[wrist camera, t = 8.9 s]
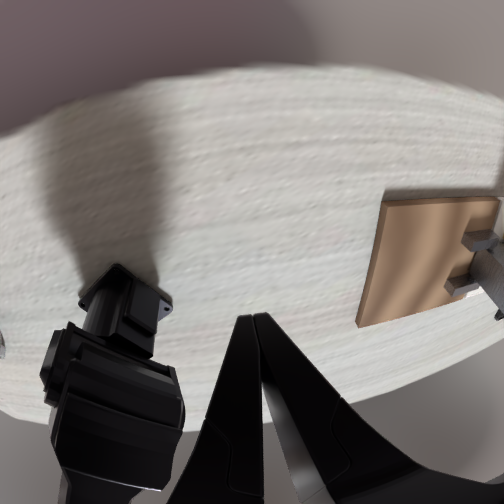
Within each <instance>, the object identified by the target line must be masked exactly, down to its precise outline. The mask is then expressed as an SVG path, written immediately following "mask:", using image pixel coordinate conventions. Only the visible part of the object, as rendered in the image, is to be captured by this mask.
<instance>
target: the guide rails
mask: <svg viewBox="0 0 504 504" xmlns="http://www.w3.org/2000/svg"><path fill="white" fill-rule="evenodd" d="M499 239H500V237H499V236H498V235H497V234H496V233H495V232H493V231H492V230H491V229H484V230H478V231H471V232H464V233H463V236H462V239H461V242H460V243H461V244H462V245H464V246H465V247H466V248H467V249H468V250H469V251H470V252H475V251H480V250H484V249H489V248H493V247H497V245H498V242H499ZM479 286H480V285H479V284H478V283H477V282H476V281H475V279H474V278H473V277H472V276H471V275H470V274H469V273H467V274H463V275H460V276H456V277H452V278H448V279H447V280H446V282H445V285H444V288H445V290H446V291H447V292H448V293H449V295H450V296H451V297H455V296H458V295H461V294H464V293H467V292H470V291H473V290H476V289H479Z"/></svg>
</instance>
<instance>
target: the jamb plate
mask: <svg viewBox="0 0 504 504" xmlns="http://www.w3.org/2000/svg"><path fill="white" fill-rule="evenodd" d="M497 199H499V200H500V204H499V207H498V210H497V214H496V217H495V220H494V223H493V226H492V229H491V230H492V231H493V232H495V233H496V234H497V235H498V236H499V237H500V239H499V241H500V242H501V243H502V242H504V239H503V238H502V237H503V234H504V197H497ZM482 292H485V291H484V290H483V289H482V287H481V286H479V289H476V290H473V291H470V292H467V293H465V295H464V298H468V297H471V296H474V295H476V294H479V293H482Z"/></svg>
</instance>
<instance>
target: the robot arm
mask: <svg viewBox="0 0 504 504" xmlns="http://www.w3.org/2000/svg"><path fill="white" fill-rule="evenodd" d="M114 269H117V270H118V271H115V270H114ZM83 303H84V304H83ZM78 305H79V307H80V308H82V309H83V310H85V311H86V312H87V315H86V318H85V322H84V325H83V328H82V329H81V328H79V327H77V326H75V324H74V323H72V322H70V321H69V322H68V324H67V326H66V329H64V328H63V329H62V330H54V333H53V336H52V339H51V341H50V344H49V347H48V350H47V353H46V356H45V359H44V362H43V365H42V368H41V371H40V375H39V376H40V378H41V380H42V382H43V384H44V390H43V391H44V392H45V397H44V403H46V404H48V405H50V406H52V409H51V413H50V417H49V430H50V438H51V443H52V446H53V448H54V451H55V454H56V456H57V459H58V461H59V464H60V466H61V469H62V476H61V482H60V490H59V496H58V504H131V501H132V500H133V499H134V498H135V497H136V496H137V495H139V494H140V493H141V492H142V491H143V490H145V489H150V490H157V491H161V490H163V489H164V487H165V486H166V485H167V483H168V482H169V481H170V478H171V470H172V463H173V457H174V453H175V450H176V446H177V444H178V442H179V439H180V437H181V435H182V432H183V431H182V430H183V427H184V422H185V405H184V401H183V398H182V394H181V390H180V387H179V383H178V379H177V375H176V371H175V368H174V367H171V366H169V365H168V366H165V365H163V364H160V363H157V362H155V361H152V360H150V358H151V357H153V351H154V341H155V334H156V333H157V325H158V321H160V320H161V319H163V318H164V317H165V316H167V315H168V314H169V313H171V312H172V310H173V305H172V304H171V303H170V302H169V301H167V300H166V299H165V298H163V297H162V296H161V295H159V294H158V293H157V292H155V291H154V290H153V289H151V288H150V287H149V286H147V285H146V284H145V283H143V282H142V281H141V280H139V279H138V278H136V277H135V276H134V275H133V274H131V273H130V272H129V271H127V270H126V269H125V268H124V267H122V266H121V265H119V264H113V265H112V266H111V267H110V268H109V269H108V270H107V271H106V272H105V273H104V274H103V275H102V276H101V277H100V278H99V279H98V280H97V281H96V282H95V283H94V284H93V285H92V287H91V288H90V289H89V290H88V291H87V292H86V293H85V294H84V295H83V296H82V297H81V298H80V300H79V302H78ZM166 307H168V308H166ZM262 387H263V391H264V394H265V397H266V401H267V404H268V407H269V410H270V413H271V417H272V420H273V423H274V426H275V429H276V432H277V436H278V439H279V442H280V445H281V448H282V451H283V454H284V457H285V460H286V463H287V466H288V469H289V472H290V475H291V478H292V481H293V484H294V487H295V490H296V493H297V495H298V499H299V502H300V504H504V473H503V474H502V475H500V476H498V477H496V478H494V479H492V480H490V481H488V482H486V483H482V482H477V481H473V480H469V479H465V478H461V477H457V476H453V475H449V474H446V473H442V472H439V471H435V470H432V469H429V468H427V467H425V466H423V465H421V464H419V463H417V462H415V461H414V460H412V459H411V458H410V457H408V456H407V455H406V454H404V453H403V452H402V451H401V450H400V449H398V448H397V447H396V446H394V445H393V444H392V443H391V442H389V441H388V440H387V439H386V438H384V437H383V436H382V435H381V434H380V433H378V432H377V431H376V430H375V429H374V428H373V427H371V426H370V425H369V424H368V423H367V422H366V421H365V420H364V419H363V418H362V417H360V415H359V414H358V413H357V412H356V411H355V410H354V409H353V408H352V407H351V406H350V405H349V404H348V403H347V402H346V401H345V399H344V398H343V397H341V395H340V394H339V393H338V392H337V391H336V390H335V389H334V387H333V386H332V385H331V384H330V383H329V382H328V381H327V380H326V378H325V377H324V376H323V375H322V374H321V373H320V372H319V371H318V370H317V368H316V367H315V366H314V365H313V364H312V363H311V362H310V360H309V359H308V358H307V357H306V356H305V355H304V354H303V353H302V351H301V350H300V349H299V348H298V347H297V346H296V345H295V343H294V342H293V341H292V340H291V339H290V338H289V336H288V335H287V334H286V333H285V332H284V331H283V330H282V328H281V327H280V326H279V325H278V324H277V323H276V321H275V320H274V319H273V318H272V317H271V316H270V314H269V313H267V312H264V313H256V314H254V315H253V316H252V315H251V314H248V315H240V316H238V317H237V320H236V323H235V326H234V329H233V332H232V335H231V339H230V342H229V345H228V348H227V351H226V354H225V357H224V360H223V363H222V366H221V370H220V373H219V376H218V379H217V382H216V385H215V388H214V391H213V394H212V397H211V400H210V403H209V406H208V410H207V413H206V416H205V418H206V419H205V420H204V421H203V424H202V427H201V430H200V433H199V436H198V439H197V441H196V444H195V447H194V449H193V451H192V454H191V456H190V458H189V460H188V462H187V465H186V467H185V469H184V471H183V473H182V474H181V476H180V479H179V480H178V482H177V484H176V486H175V488H174V490H173V492H172V494H171V496H170V497H169V499H168V502H167V503H166V504H264V471H263V470H264V469H263V468H264V467H263V421H262ZM340 397H341V398H340Z"/></svg>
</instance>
